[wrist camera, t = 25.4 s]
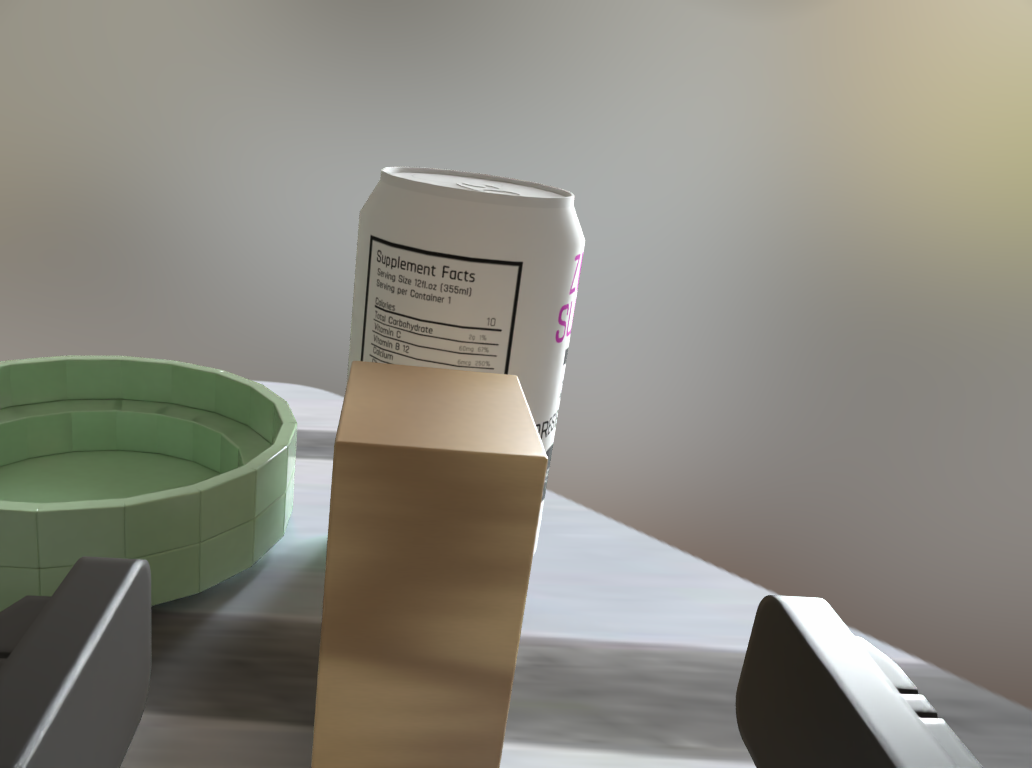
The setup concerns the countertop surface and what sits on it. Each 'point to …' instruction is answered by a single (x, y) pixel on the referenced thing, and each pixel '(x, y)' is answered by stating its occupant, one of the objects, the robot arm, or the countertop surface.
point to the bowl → (138, 471)
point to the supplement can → (469, 280)
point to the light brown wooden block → (425, 567)
